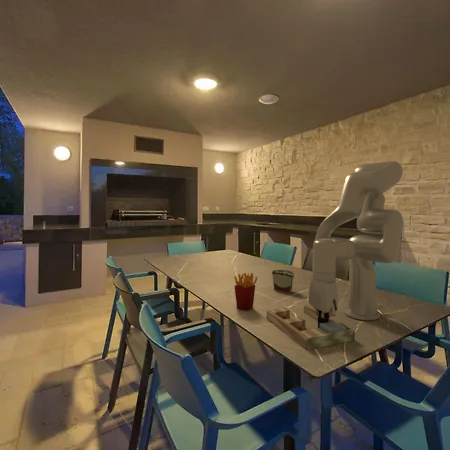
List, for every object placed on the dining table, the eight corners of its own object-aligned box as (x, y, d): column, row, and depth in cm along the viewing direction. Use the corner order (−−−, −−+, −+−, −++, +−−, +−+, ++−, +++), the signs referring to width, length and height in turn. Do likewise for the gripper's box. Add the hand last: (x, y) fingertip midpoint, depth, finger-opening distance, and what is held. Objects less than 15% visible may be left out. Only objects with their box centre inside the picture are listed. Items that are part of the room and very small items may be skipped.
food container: (298, 291, 144) (299, 272, 143) (292, 294, 139) (292, 274, 139) (278, 286, 152) (278, 268, 151) (271, 289, 148) (271, 270, 147)
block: (334, 334, 96) (334, 321, 96) (346, 341, 91) (346, 327, 91) (319, 336, 94) (319, 323, 94) (330, 344, 89) (330, 330, 89)
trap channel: (305, 312, 116) (306, 303, 116) (354, 340, 91) (354, 329, 91) (266, 318, 110) (266, 308, 110) (307, 349, 85) (307, 338, 85)
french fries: (246, 312, 116) (246, 276, 115) (231, 307, 121) (230, 273, 120) (258, 306, 122) (258, 272, 121) (243, 302, 128) (243, 269, 127)
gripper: (301, 272, 102) (300, 321, 104) (330, 282, 88) (329, 339, 90) (318, 270, 105) (317, 318, 106) (349, 280, 91) (347, 335, 92)
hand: (323, 328), depth 98 cm, fingers closed
